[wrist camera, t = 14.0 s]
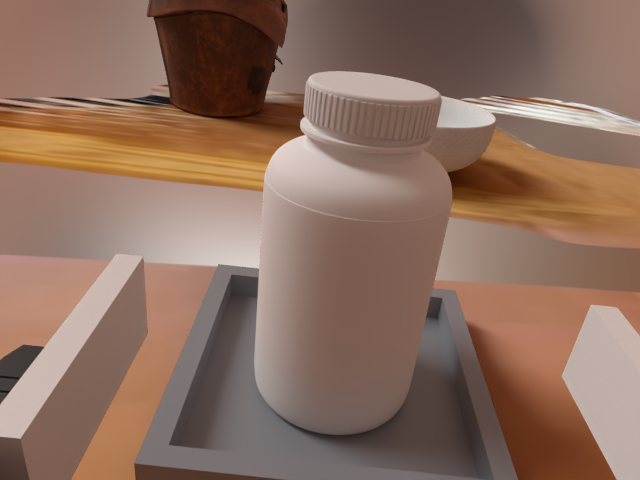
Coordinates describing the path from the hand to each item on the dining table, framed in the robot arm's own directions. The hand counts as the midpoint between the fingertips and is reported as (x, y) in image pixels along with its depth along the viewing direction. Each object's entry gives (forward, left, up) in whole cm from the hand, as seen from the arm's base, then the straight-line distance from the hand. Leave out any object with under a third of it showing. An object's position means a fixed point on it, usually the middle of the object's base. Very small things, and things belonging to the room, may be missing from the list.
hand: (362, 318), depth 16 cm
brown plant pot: (-17, +62, -11) cm, 65 cm away
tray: (0, +8, -10) cm, 13 cm away
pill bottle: (0, +8, -10) cm, 13 cm away
